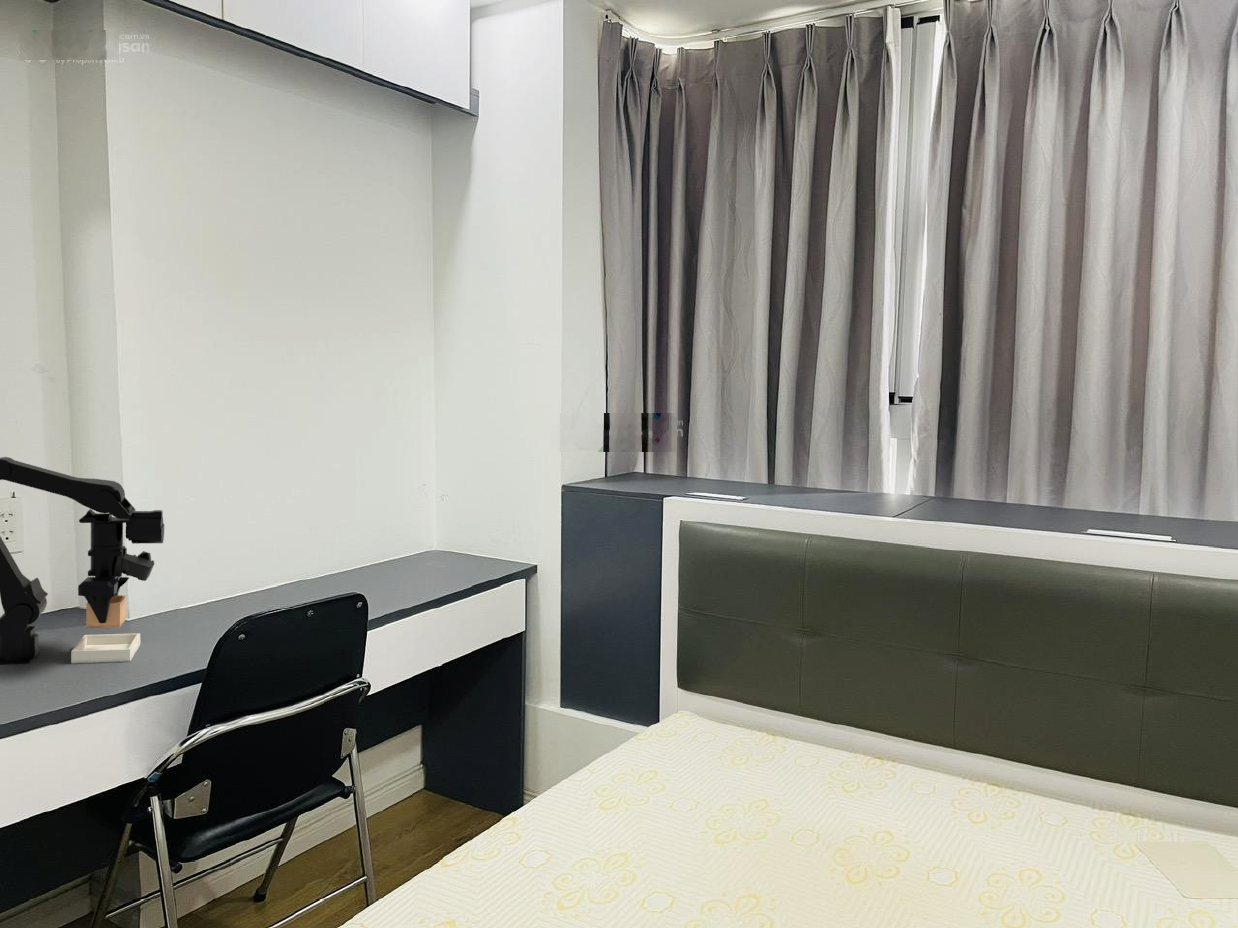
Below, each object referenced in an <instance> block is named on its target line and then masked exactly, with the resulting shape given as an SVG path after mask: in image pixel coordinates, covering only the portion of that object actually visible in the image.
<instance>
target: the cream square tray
mask: <svg viewBox="0 0 1238 928" xmlns="http://www.w3.org/2000/svg"><path fill="white" fill-rule="evenodd" d="M140 646H141V633H113V634H112V633H111V634H109V633H107V634H84V635H83V637H82V638H81V639H80V640H79V641H78V642H77V644H76V645H75V646H74V647H73V649H72V650H71V654H70V657H71V662H70V663H71V664H91V663H92V664H95V663H96V664H97V663H121V662H122V663H123V662H131V661H132V659H133V657H134V656H135V654H136V653H137V651H138V649H139V648H140Z"/></svg>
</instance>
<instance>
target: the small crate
mask: <svg viewBox="0 0 1238 928" xmlns="http://www.w3.org/2000/svg"><path fill="white" fill-rule="evenodd" d="M85 613H86V616H85V617H86V627H85V628H86V629H99V628H100V629H101V628H103V629H104V628H121V626H123V624H124V622H125V620H127V595H126V594H125V595H123V594H122V595H121V594H120V595H119V594H118V595H115V596H113V597H112V598H111V600H110V606H109V611H108V616H107V620H106V623H99V621H98V619H97V617H96V616H95V614H94V612H93V610H92V608H91V607H90V605H89V603H88V602H87V603H86V612H85Z"/></svg>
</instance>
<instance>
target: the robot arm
mask: <svg viewBox="0 0 1238 928" xmlns="http://www.w3.org/2000/svg"><path fill="white" fill-rule="evenodd" d="M1 480H2V481H5V482H11V483H15V484H19V485H22V486H26V487H29V488H33V489H36V490H40V491H44V492H49V493H50V494H51V493H52V494H55V495H59V496H62V497H67V498H68V499H71V500H73V501H75V502H76V503H78V504H80V505H82V506H84V507H86V508H89V510H87V511H86V513H85V515H83V516H82V517H81V518H79V520H78V522H79V524H90V549H89V550H87V557H90V569H89V570H88V571H87V577H86V578H85V579H84V580H83V581H81V583H80V584H78V585H77V589H78V590H77V593H78V594H77V596H80V597H84V598H85V600H86V601H87V603H89V605H90V607H91V608H92V610H93V612H94V614H95V616H96V617H97V619H98V621H99V623H106V620H107V616H108V611H109V606H110V600H111V598H112V597H113V596H115V595H119V592H120V588H121V587H123V586H124V584H126V583H127V582H128V581H129V580H130V577H132V578H136V579H137V580H139V581H142V582H146V581H147V580H148V578H149V577H150V575H151V573H152V570H153V568H154V566H155V560H152V557H151V556H152V555H151V553H150V552H148V551H142V552H141V553H139V554H138V555H136V554H129V553H127V551H128V550H127V547H126V546H125V545H124V524H125V539H126V540H128V541H129V542H130V541H131V543H132V544H136V545H137V544H164V540H165V539H164V537H165V523H164V516H163V515H164V514H163V510H162V509H160V510H159V509H158V510H156V509H155V510H151V511H150V510H136V508H135V507H134V506H133V505H132V504H131V502H130V501H129V500H128V499H127V498H126V493H125V490H124V487H123V486H122V484H120V483H119V482H117V481H115V480H108V479H107V480H106V479H100V478H84V477H76V476H71V475H69V474H65V473H61V472H59V471H55V470H51V469H47V468H43V467H40V466H36V465H32V464H29V463H25V462H22V461H18V460H15V459H14V458H11V457H8V456H1V457H0V481H1ZM123 574H124V575H126V576H125V577H124V576H123ZM42 587H43V586H42V584H41V581H40V579H39V578H38V577H35V578H34V579H32V580H30V579H29V578H27V577H26V576H25V575H24V574H23V573H22V571H21V569H20V568H19V566H18V565H17V563H16V561H15V559H14V557H13V556H12V554H11V552H10V551H9V549H8V547H7V545H6V544H5V542H4V540H3V539H2V536H0V603H1V606H2V609H3V613H2V615H1V616H0V665H24V664H30V663H31V662H32V661H33V660H34V659H35V658H36V656H37V655H39V654H40V653H39V650H40V649H39V644H40V643H39V634H38V633H36V625H34V626H33V625H32V624H33V623H35V622H36V621H37V619H39V617H40V616H41V615H42V614H43V613H44V611H45V609H46V608H47V604H48V601H47V596H48V595H49V593H48V592H46V591H45V590H44V588H42Z"/></svg>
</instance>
